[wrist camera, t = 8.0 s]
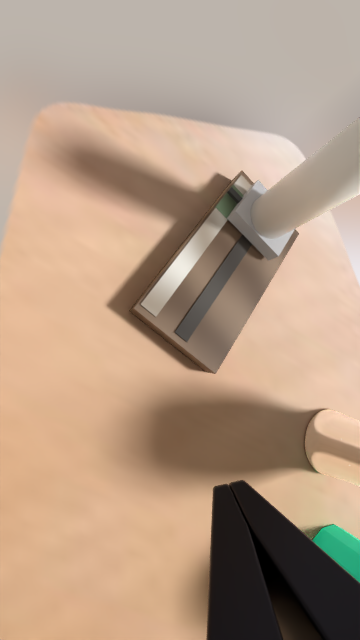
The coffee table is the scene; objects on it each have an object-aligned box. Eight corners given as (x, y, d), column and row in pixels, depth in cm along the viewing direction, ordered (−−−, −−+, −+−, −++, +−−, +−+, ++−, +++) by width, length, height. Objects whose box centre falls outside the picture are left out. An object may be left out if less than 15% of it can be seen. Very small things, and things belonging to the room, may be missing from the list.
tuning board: (206, 372, 22) (216, 373, 20) (129, 311, 20) (134, 307, 18) (287, 239, 27) (300, 232, 25) (232, 180, 25) (242, 169, 23)
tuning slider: (268, 260, 23) (431, 188, 13) (215, 206, 21) (352, 73, 11) (287, 230, 24) (449, 141, 14) (238, 176, 22) (381, 31, 12)
